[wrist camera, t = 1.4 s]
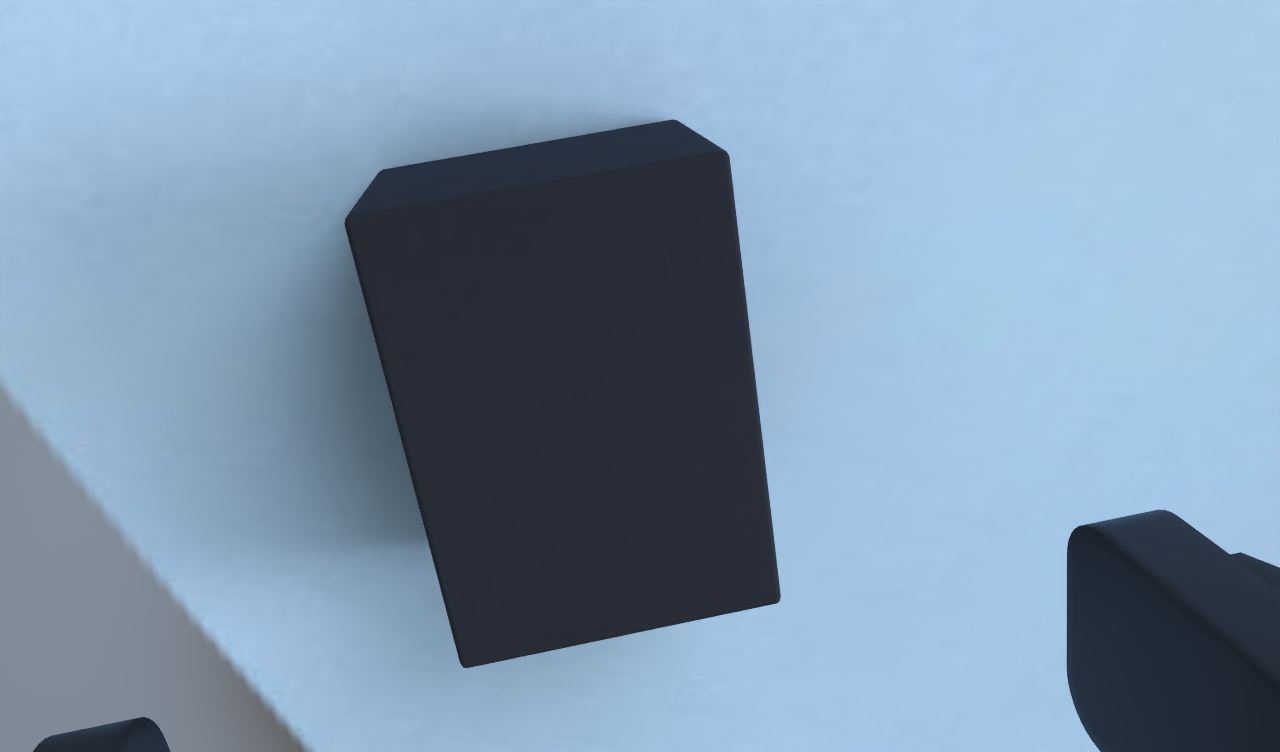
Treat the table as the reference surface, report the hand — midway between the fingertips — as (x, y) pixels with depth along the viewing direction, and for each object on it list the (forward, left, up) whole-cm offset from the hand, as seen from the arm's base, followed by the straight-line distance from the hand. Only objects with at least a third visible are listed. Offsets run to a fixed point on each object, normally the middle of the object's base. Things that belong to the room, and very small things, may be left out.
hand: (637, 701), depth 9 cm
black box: (0, 0, -10) cm, 10 cm away
